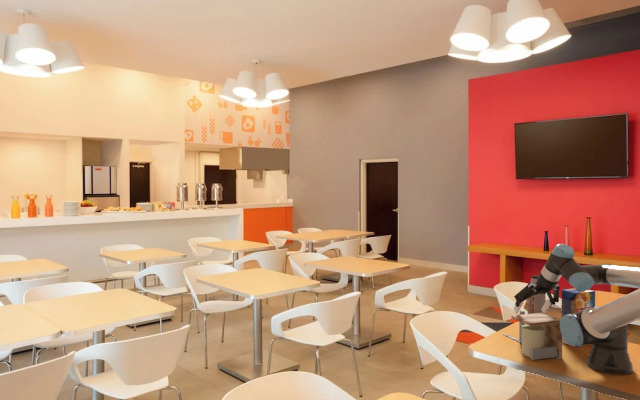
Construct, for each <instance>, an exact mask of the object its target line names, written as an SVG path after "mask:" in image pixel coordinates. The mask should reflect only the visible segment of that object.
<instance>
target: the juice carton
mask: <svg viewBox="0 0 640 400" xmlns="http://www.w3.org/2000/svg"><path fill="white" fill-rule="evenodd" d="M593 307H596V291H595V290H591V289H589V290H586V291H584V292H579V291H577V290H576V289H575V288H567V289H561V318H562V317H563V316H564V315H567V314H575V313H578V312H580V311H582V310H584V309H586V308H593ZM562 344H565V345H569V346H572V347H574V348H578V347H579V346H573V345H571V344H569V343H568V342H567V341H566V340H565V339H564V338H563V336H562ZM589 345H592V344H588V345H587V346H589ZM584 346H586V345H581V346H580V347H584Z"/></svg>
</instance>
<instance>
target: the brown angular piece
mask: <svg viewBox="0 0 640 400" xmlns="http://www.w3.org/2000/svg"><path fill="white" fill-rule="evenodd" d="M510 317H511V319H512V320H515V321H518V323H519V322H522V323H524V324H527V325H530V326H542V327H544V328H545V347H553V346H555V347H557V352H558V357H552V358H553V359H556V360H561V359H562V358H563V342H562V334H561V331H560V320H561V318H557V317H554V316H552V315H548V314H547V313H546V314H543V313H534V314H527V313H525V314H523V315H520V314H515V315H511V316H510ZM502 335H503V336H504V337H506V338H508V339H511V340H513V341H516V342H518V343H519V344H522V342H520V341H519V339H518V338H516V337H514V336H512V335H509V334H507V333H503V334H502Z"/></svg>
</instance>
